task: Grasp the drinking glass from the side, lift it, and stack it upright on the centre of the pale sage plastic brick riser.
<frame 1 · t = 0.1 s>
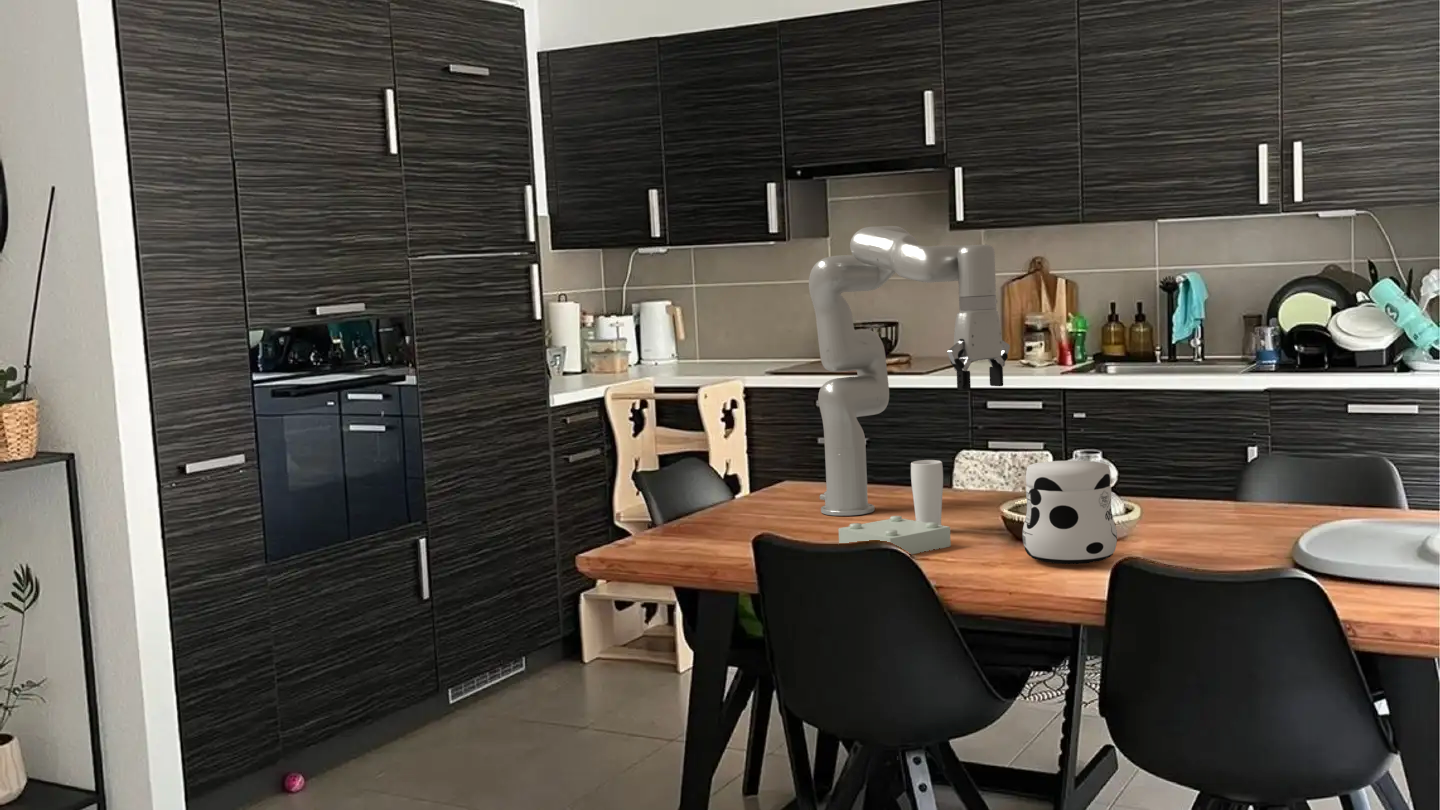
hand: (980, 388, 286), 31 cm above the table, tool pointing down, fingers open, 9 cm apart
drinking glass: (928, 532, 297), on the table
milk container: (1070, 561, 262), on the table
brick riser: (894, 546, 283), on the table
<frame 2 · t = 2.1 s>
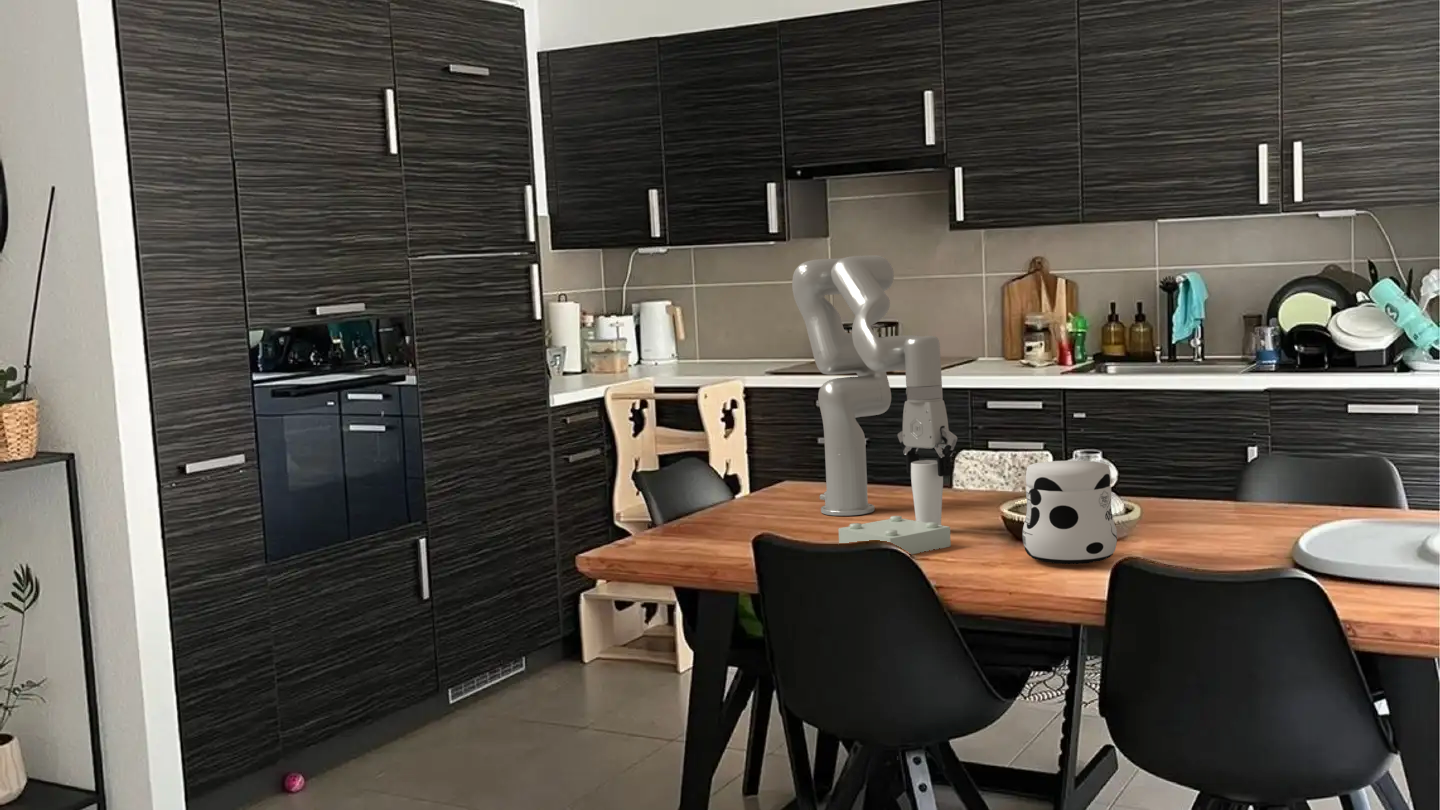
hand: (928, 474, 296), 12 cm above the table, tool pointing down, fingers open, 9 cm apart
nothing on the table moved.
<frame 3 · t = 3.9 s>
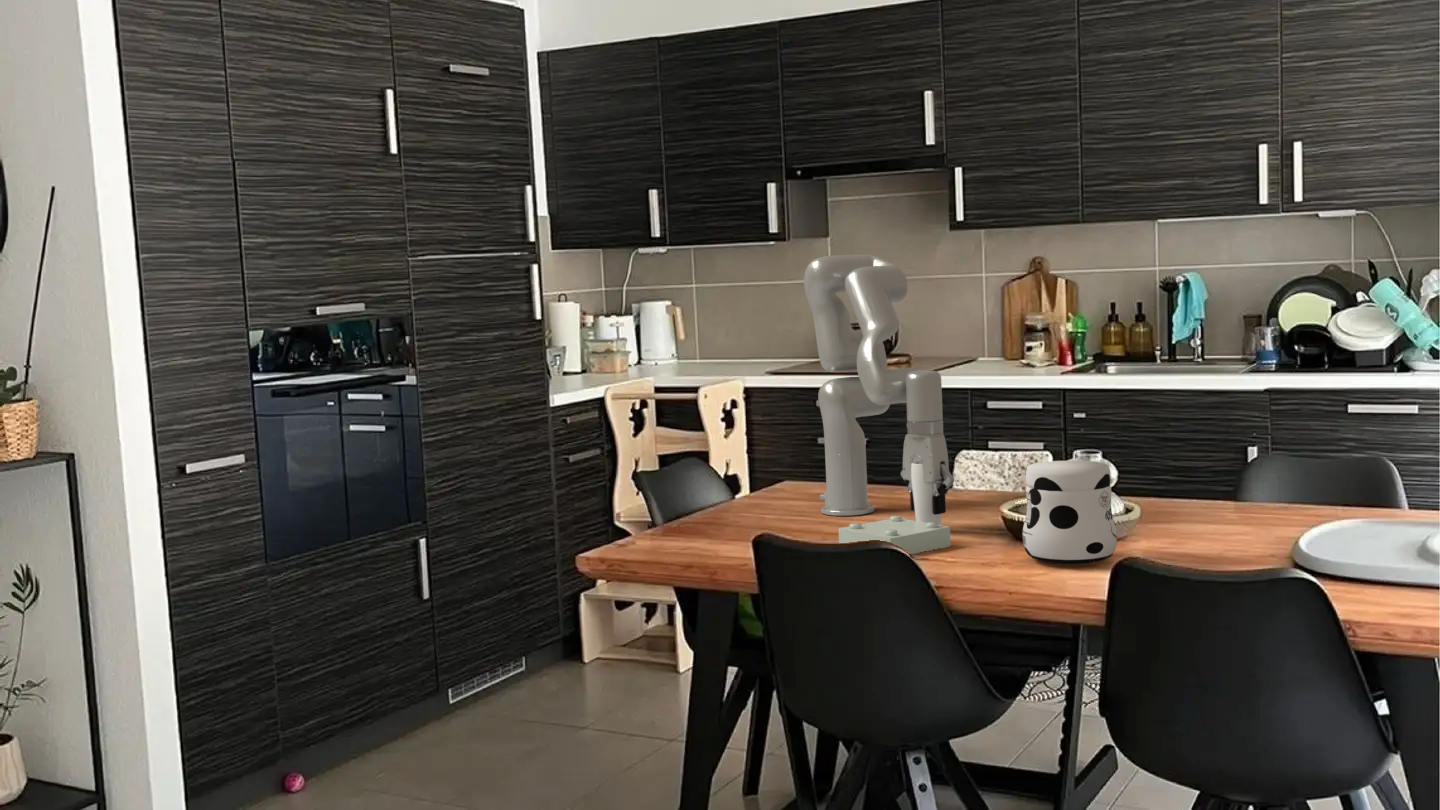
hand: (928, 511, 297), 4 cm above the table, tool pointing down, fingers closed on drinking glass, 6 cm apart
drinking glass: (928, 532, 297), on the table, touching gripper
everything else where it was.
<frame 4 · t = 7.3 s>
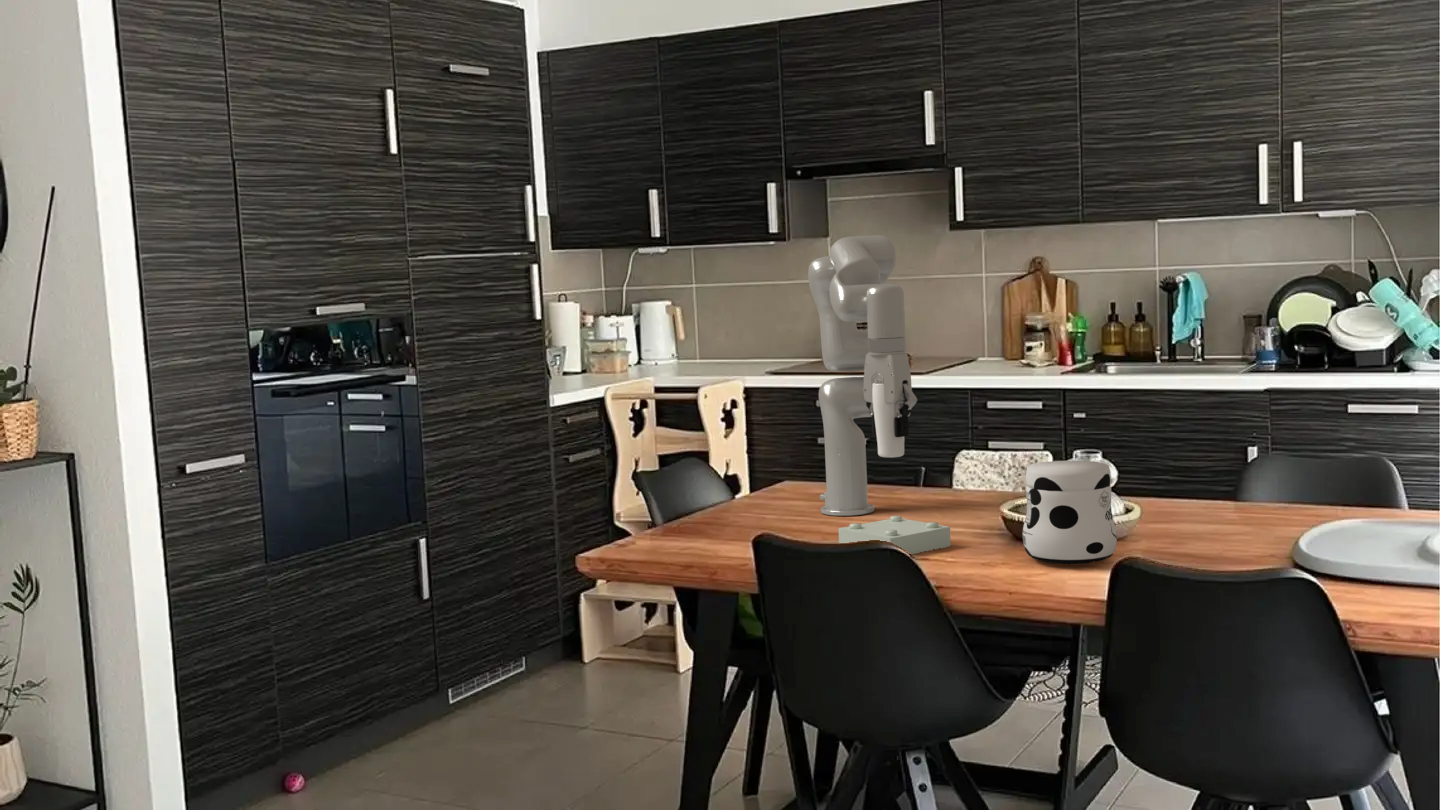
hand: (890, 434, 281), 23 cm above the table, tool pointing down, fingers closed on drinking glass, 6 cm apart
drinking glass: (891, 456, 281), point 19 cm above the table, touching gripper
everything else where it was.
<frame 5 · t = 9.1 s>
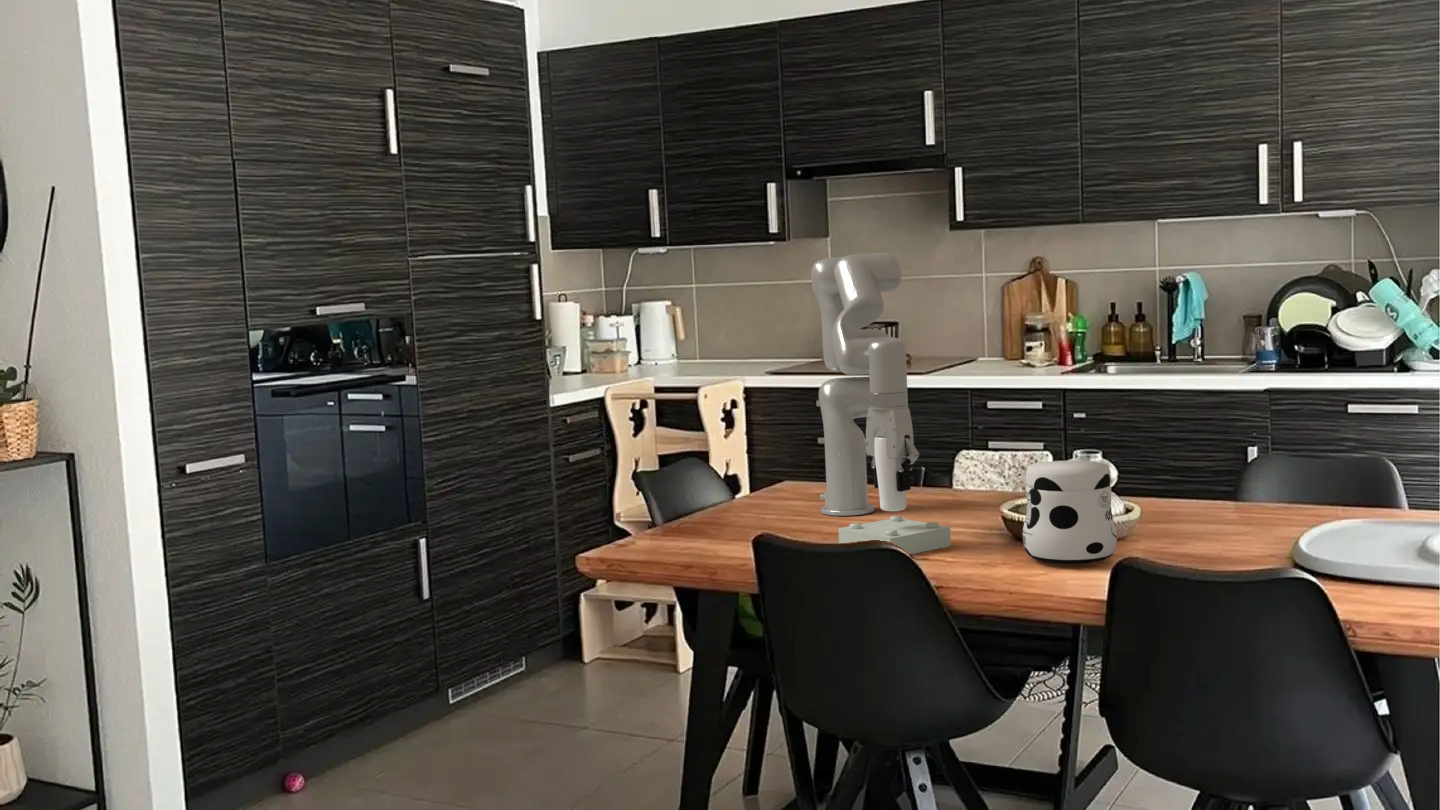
hand: (892, 488, 281), 12 cm above the table, tool pointing down, fingers closed on drinking glass, 6 cm apart
drinking glass: (893, 510, 282), point 8 cm above the table, touching gripper
everything else where it was.
when the fingers open (10 cm above the table, at t = 10.6 s): drinking glass drops 1 cm, resting on brick riser.
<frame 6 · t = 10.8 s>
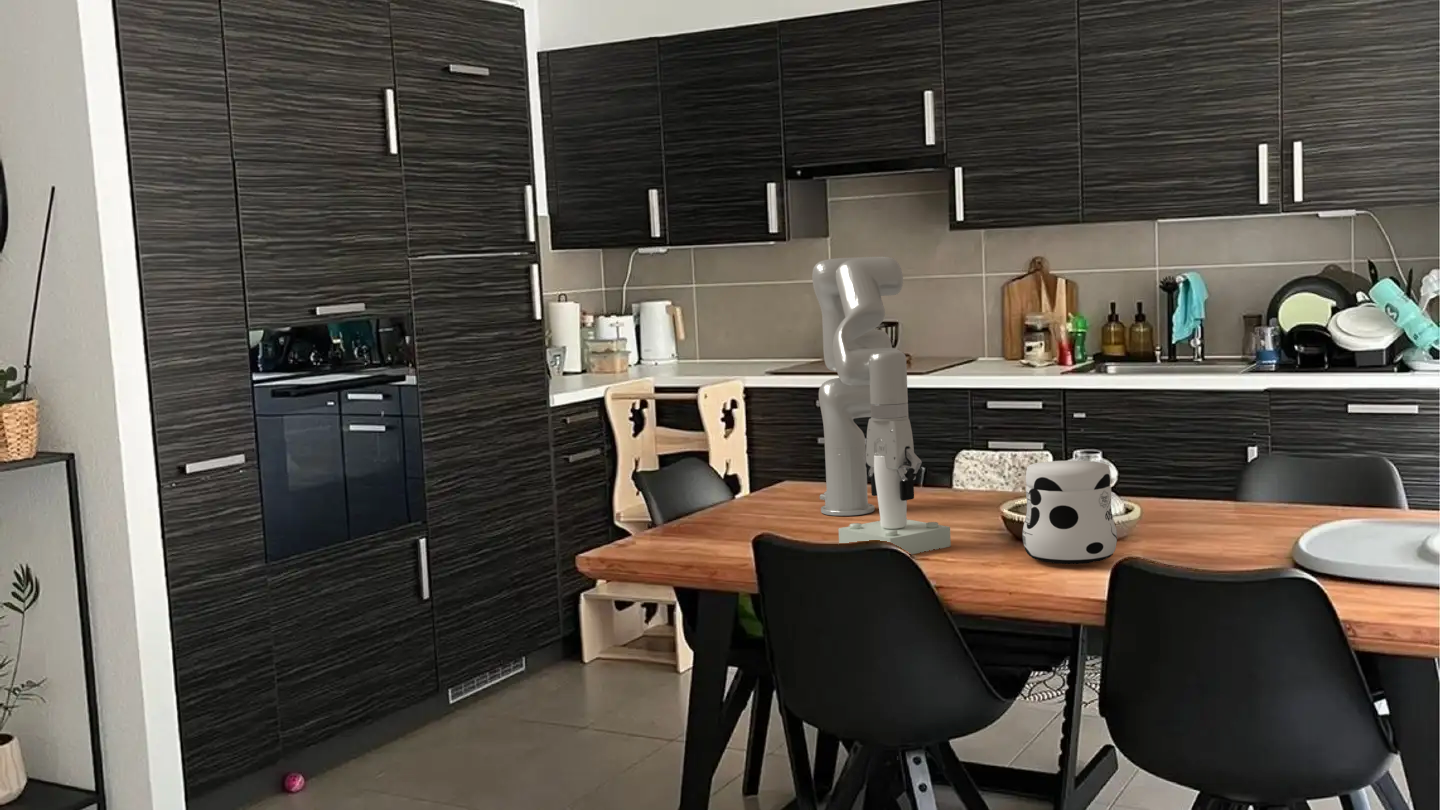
hand: (892, 497, 282), 10 cm above the table, tool pointing down, fingers open, 8 cm apart
drinking glass: (893, 528, 282), point 4 cm above the table, touching brick riser
everything else where it was.
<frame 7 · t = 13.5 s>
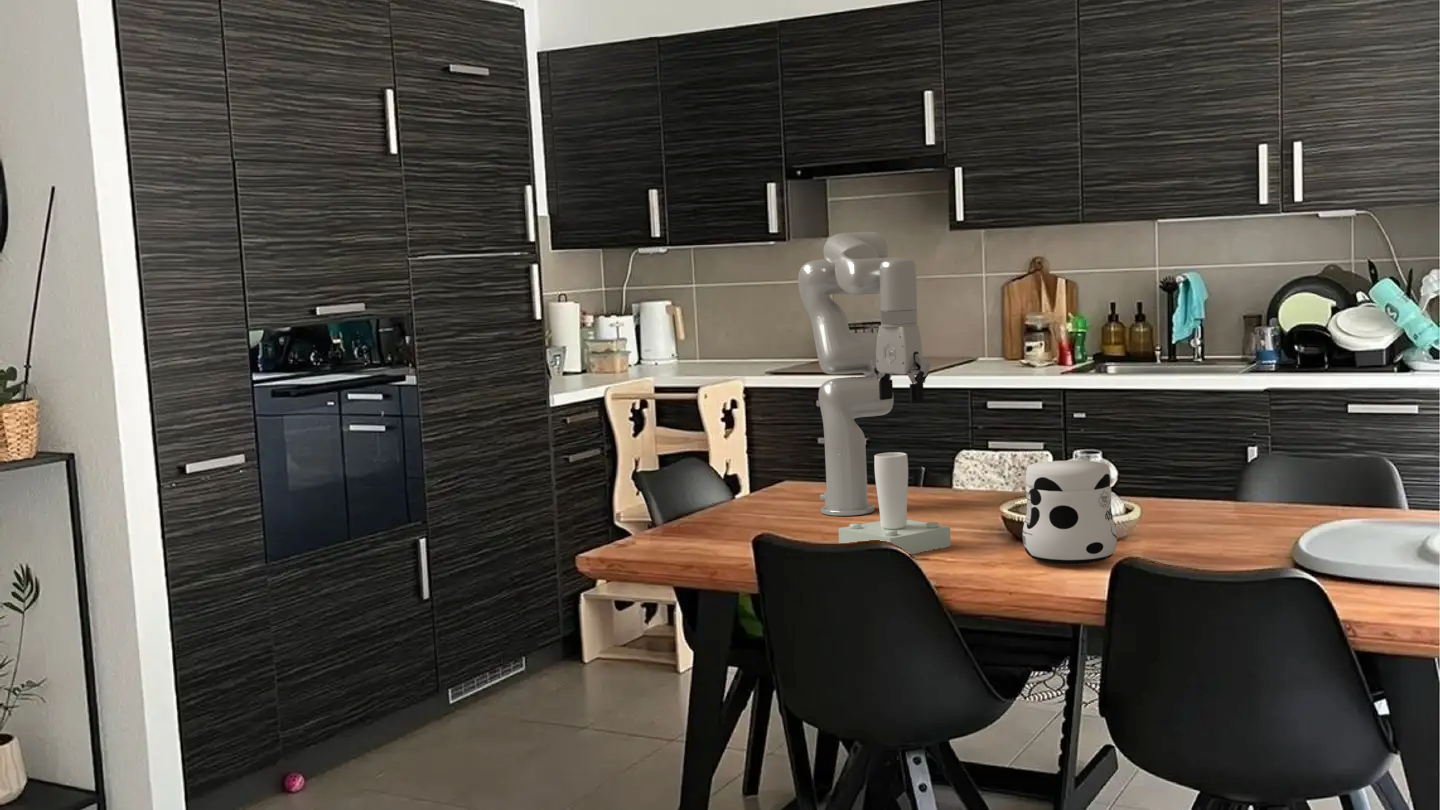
hand: (901, 400, 289), 29 cm above the table, tool pointing down, fingers open, 9 cm apart
nothing on the table moved.
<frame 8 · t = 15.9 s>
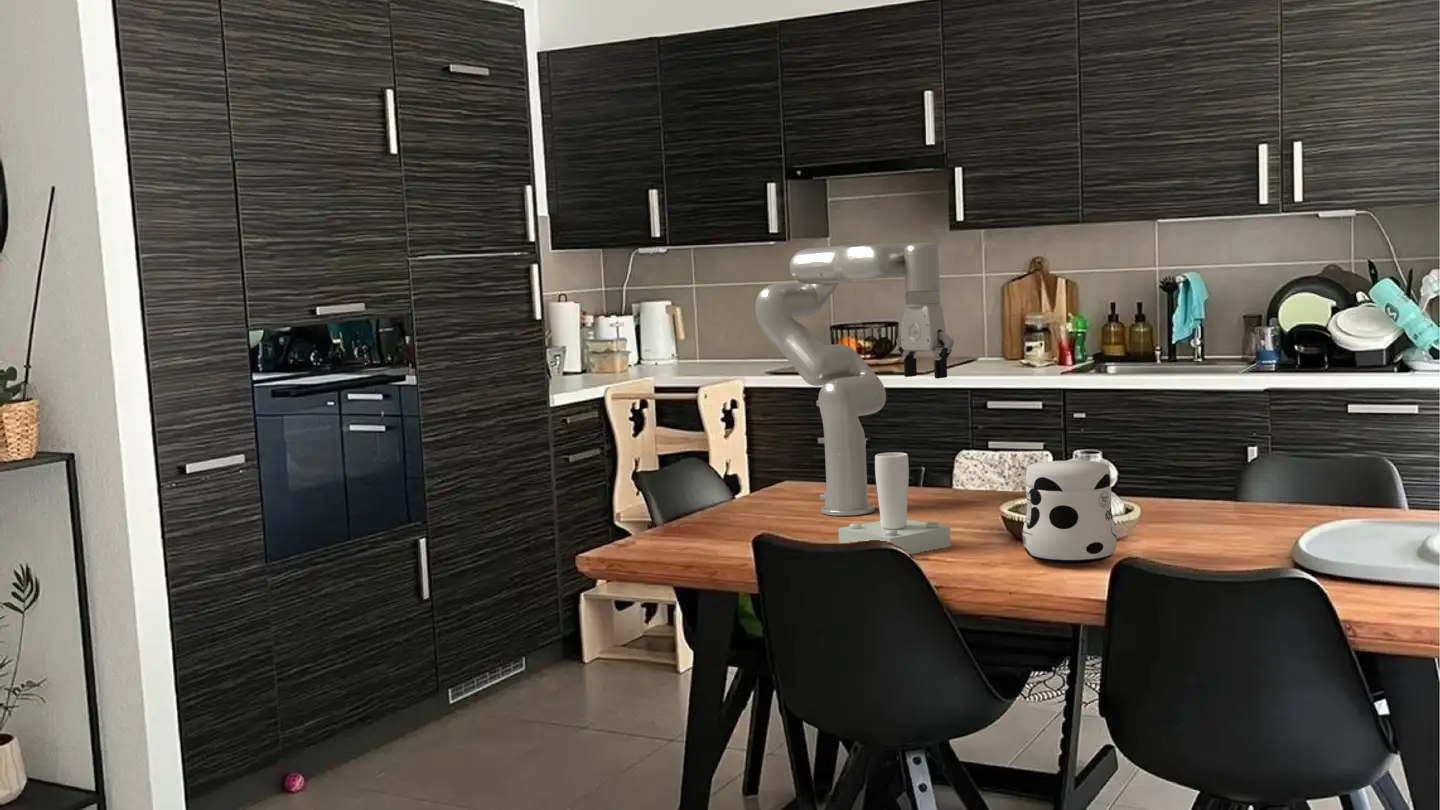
hand: (925, 377, 305), 32 cm above the table, tool pointing down, fingers open, 9 cm apart
nothing on the table moved.
at the end: drinking glass inside the target area on the brick riser (0.1 cm from its centre), point 3.8 cm above the brick riser's base; drinking glass tilted 0°; the gripper is holding nothing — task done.
